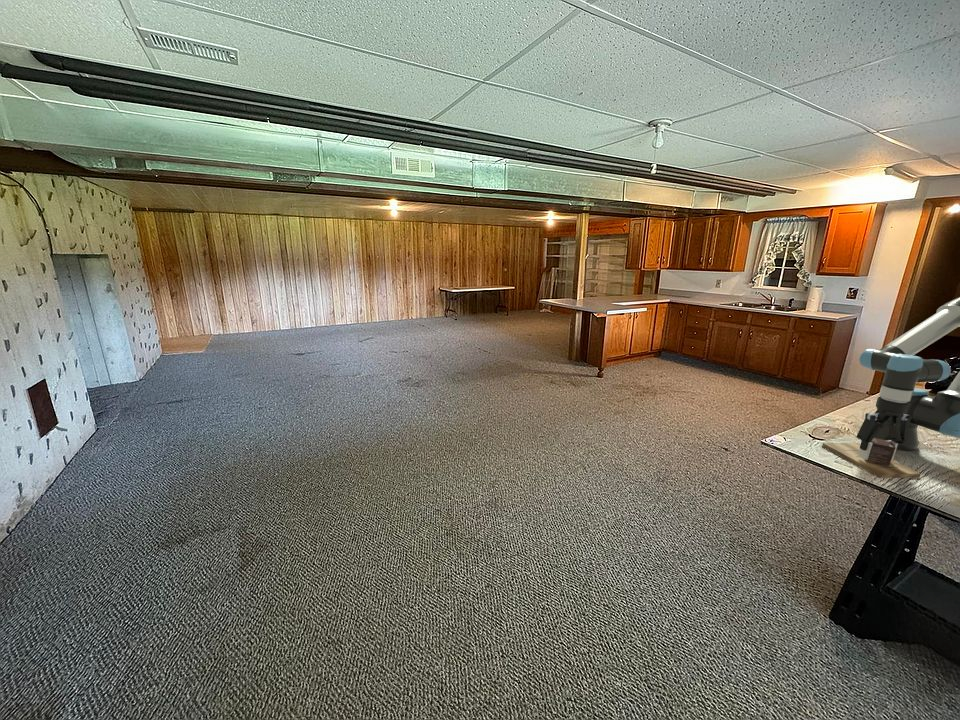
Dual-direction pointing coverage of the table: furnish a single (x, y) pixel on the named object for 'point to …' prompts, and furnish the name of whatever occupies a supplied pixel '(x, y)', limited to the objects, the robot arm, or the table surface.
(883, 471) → the oak board
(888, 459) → the box
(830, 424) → the table surface
